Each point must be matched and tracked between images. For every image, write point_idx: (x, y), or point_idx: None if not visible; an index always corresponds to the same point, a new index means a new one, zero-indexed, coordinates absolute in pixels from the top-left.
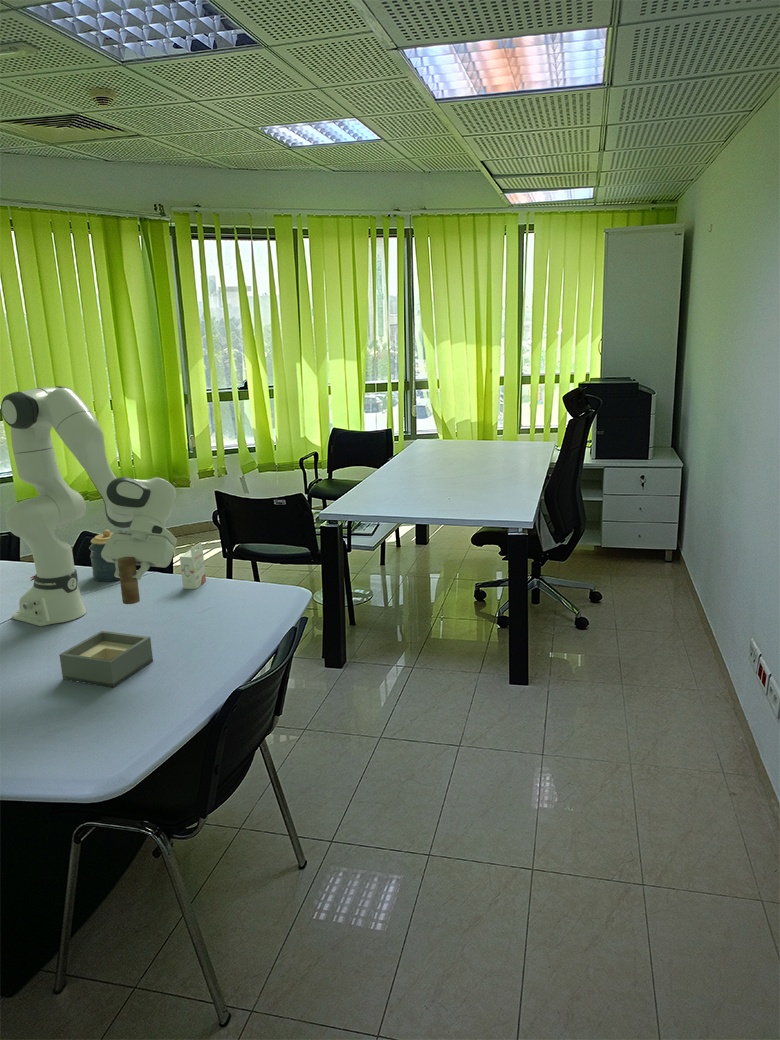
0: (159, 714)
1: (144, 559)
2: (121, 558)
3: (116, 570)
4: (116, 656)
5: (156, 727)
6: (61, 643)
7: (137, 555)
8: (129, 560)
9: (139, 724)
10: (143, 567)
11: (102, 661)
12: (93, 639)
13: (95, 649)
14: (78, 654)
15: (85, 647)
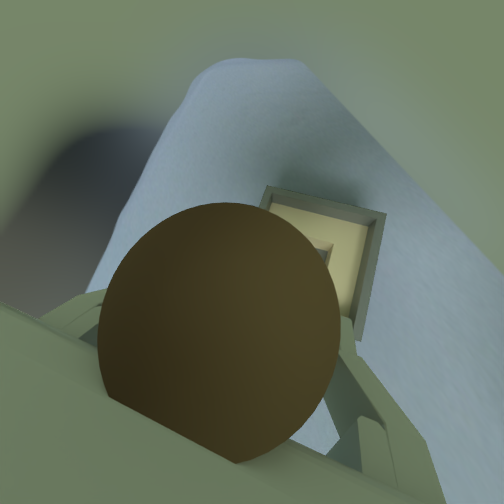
0: (190, 153)
1: (3, 317)
2: (296, 343)
3: (347, 342)
4: (265, 206)
5: (188, 131)
6: (484, 410)
7: (35, 417)
8: (154, 238)
9: (208, 135)
10: (97, 293)
11: (283, 189)
12: (358, 297)
13: (340, 281)
14: (362, 255)
15: (360, 273)
